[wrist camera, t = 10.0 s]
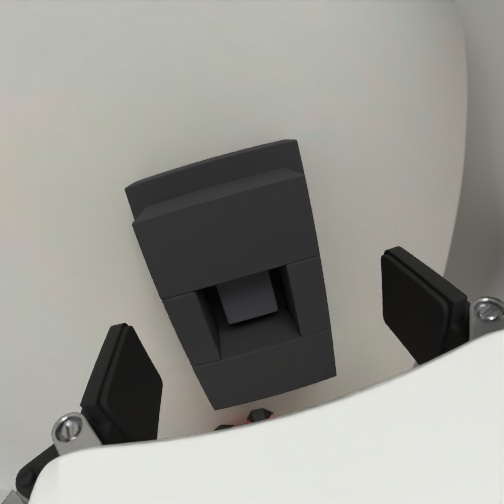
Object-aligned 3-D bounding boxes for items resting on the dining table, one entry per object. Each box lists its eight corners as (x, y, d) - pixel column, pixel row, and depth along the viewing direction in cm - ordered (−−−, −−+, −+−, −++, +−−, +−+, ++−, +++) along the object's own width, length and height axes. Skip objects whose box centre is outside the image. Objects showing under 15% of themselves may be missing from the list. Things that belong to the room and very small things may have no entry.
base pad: (133, 182, 15) (114, 194, 11) (286, 139, 15) (307, 139, 12) (204, 364, 19) (205, 403, 16) (323, 330, 19) (342, 364, 16)
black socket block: (146, 206, 13) (131, 223, 11) (284, 167, 14) (304, 174, 11) (212, 373, 17) (214, 410, 14) (318, 342, 17) (336, 376, 14)
